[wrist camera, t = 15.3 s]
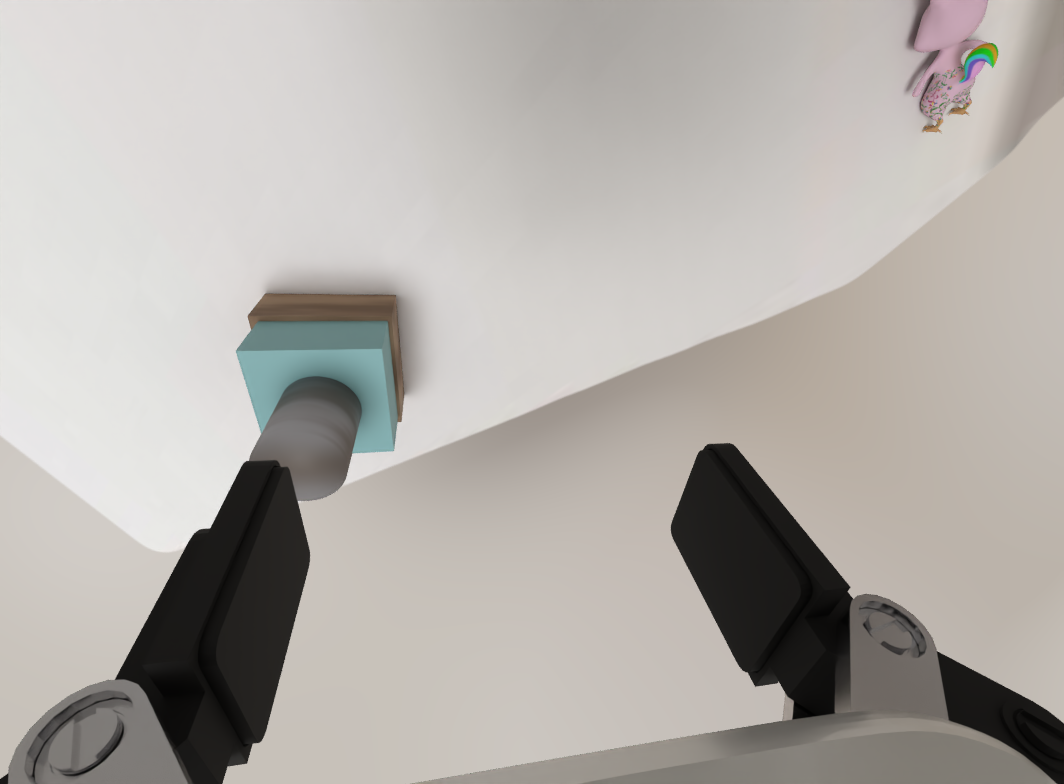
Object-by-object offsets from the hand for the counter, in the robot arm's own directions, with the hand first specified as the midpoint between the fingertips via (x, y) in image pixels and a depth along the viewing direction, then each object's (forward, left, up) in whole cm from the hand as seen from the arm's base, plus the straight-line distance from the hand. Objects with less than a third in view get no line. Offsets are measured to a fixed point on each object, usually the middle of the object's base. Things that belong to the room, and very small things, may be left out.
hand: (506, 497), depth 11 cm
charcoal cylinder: (+15, -11, -25) cm, 31 cm away
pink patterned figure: (-15, +39, -35) cm, 54 cm away
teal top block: (+14, -11, -30) cm, 35 cm away
